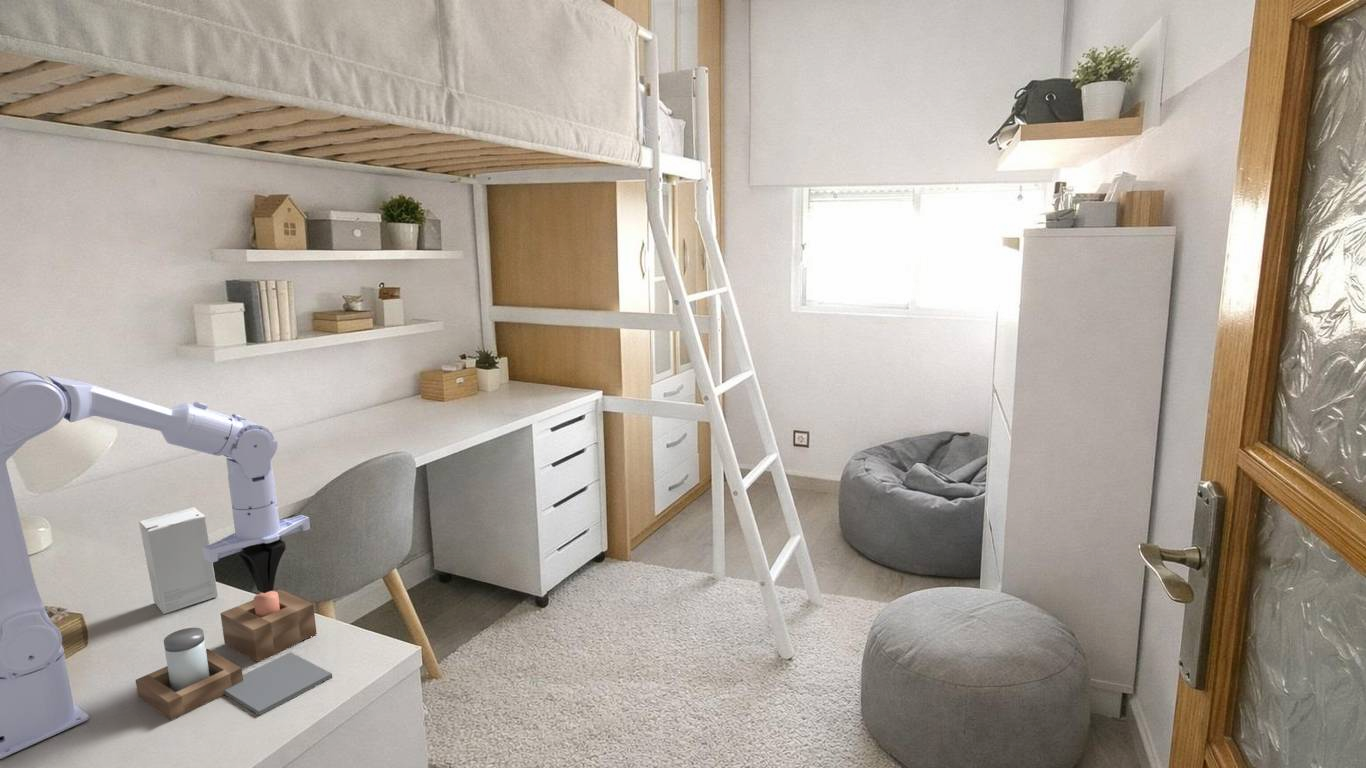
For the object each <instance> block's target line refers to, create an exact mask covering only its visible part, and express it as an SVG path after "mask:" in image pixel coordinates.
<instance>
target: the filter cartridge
mask: <svg viewBox="0 0 1366 768" xmlns="http://www.w3.org/2000/svg"><path fill="white" fill-rule="evenodd" d="M163 646H164V652H165V658H166V666H167V667H168V673H169V680H170V686H171V688H170V689H171V690H173V691H174V692H177V691H180V690H182V689H184V688H186V687H188V686H191V685H193V684H195V683H197V682H199V681H201V680H204V679H206V678H208V677H210V675H209V668H208V661H207V654H206V649H207V648H206V642H205V634H204V629H202V628H200V627H188V628H182V629H178V630H177V631H176V630H175V631H173V632H171V633H170V634H168V635H166V636H165V637H164V639H163Z"/></svg>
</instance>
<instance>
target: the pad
mask: <svg viewBox="0 0 1366 768" xmlns="http://www.w3.org/2000/svg"><path fill="white" fill-rule="evenodd" d="M331 677H332V678H333V673H332V672H330V671H328V670H326V669H324V668H323V667H320V666H318V665H316V664H314V663H312V662H310V661H309V660H307V659H304V658H303V657H301V656H299V655H297V654H295V653H293V652H292V651H291V652H290V651H289V652H288V653H286V654H284V655H282V656H280V657H278V658H275V659H274V660H272V661H269V662H267V663H265V664H263V665H261V666H258V667H256V668H254V669H252V670H250V671H248V672H246V673H244V674H243V681H242V682H240V683H238V684H236V685H234V686H231V687H229V688H227V689H225V690H224V693H225V694H224V695H225V696H227V697H229V698H231V699H232V700H234V701H235V702H237V703H238V704H240V705H242V706H243V707H245V708H246V709H248V710H250V711H252V712H254V714H256V715H258V716H262V715H263V714H265V713H268V712H269V711H272V710H273V709H275V708H276V707H278V706H280V705H283V704H285V703H286V702H288V701H290V700H292V699H294V698H296V697H298V696H300V695H301V694H303V693H305V692H307V691H309V690H311V689H313V688H315V687H317V686H318V685H321V684H323V683H324V682H326V681H328V680H330V679H331ZM329 678H330V679H329ZM327 679H328V680H327ZM323 681H324V682H323ZM322 682H323V683H322ZM320 683H321V684H320Z"/></svg>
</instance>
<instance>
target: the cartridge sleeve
mask: <svg viewBox="0 0 1366 768" xmlns="http://www.w3.org/2000/svg"><path fill="white" fill-rule="evenodd" d="M206 654H207V661H208V668H209V675H210V677H208V678H206V679H204V680H201V681H199V682H197V683H195V684H193V685H191V686H188V687H186V688H184V689H182V690H180V691H177V692H174V691H173V690H171V686H170V680H169V673H168V667H167V665H166V666H165V667H163V668H159V669H158V670H155V671H152V672H150V673H148V674H145V675H143V676H142V677H141V676H140V677H139V678H137V679H135V686H136V691H137V692H136V693H137V697H138V698H139V699H141V700H142V701H143V702H145V703H146V704H148V705H149V706H151V707H152V708H153V709H154V710H156V711H157V712H159V713H160V714H162V715H163V716H165V717H166V718H168V719H169V720H170V721H173V720H174V719H176V718H179V717H180V716H183V715H184V714H186V713H188V712H191V711H193V710H195V709H197V708H199V707H202V706H203V705H205V704H207V703H209V702H212V701H213V700H215V699H218V698H219V697H221V696H224V695H225V693H224V690H225V689H227V688H229V687H231V686H234V685H236V684H238V683H240V682H242V681H243V675H244V674H243V669H242V667H241V666H239V665H237V664H235V663H234V662H231V661H230V660H229V659H227V658H224V657H223V656H222V655H219V654H217V653H216V652H214V651H212V650H211V649H208V648H206Z"/></svg>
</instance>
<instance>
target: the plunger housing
mask: <svg viewBox="0 0 1366 768" xmlns="http://www.w3.org/2000/svg"><path fill="white" fill-rule="evenodd" d="M274 591H275V592H277V593H278V598H279V606H280V610H279V611H276V612H274V613H272V614H269V615H267V616H264V617H262V618H261V617H259V616H257V615H256V614H255V606H254V599H252V600H250V601H248V602H245V603H242V604H239V605H237V606H235V607H232V608H229V609H227V610H225V611H222V612H220V613H219V615H220V619H221V620H220V621H221V627H222V629H221V630H222V634H223V635H222V636H223V641H224V645H225V646H227V647H229V648H231V649H233V650H234V651H236V652H238V653H240V654H242V655H244V656H245V657H247V658H249V659H250V660H253V661H254V662H257V663H258V662H261V661H263V660H265V659H267V658H269V657H271V656H273V655H276V654H278V653H280V652H282V651H284V650H286V649H288V648H291V647H293V646H295V645H297V644H299V643H301V642H300V641H302V640H304V639H306V640H308V639H310V638H312V637H314V636H316V635H315V634H317V625H316V616H315V615H316V614H315V607H314V603H312V602H310V601H308V600H305V599H303V598H300V597H298V596H296V595H294V594H291V593H290V592H287V591H285V590H282V589H278V590H274ZM313 635H314V636H313ZM311 636H312V637H311ZM309 637H310V638H309ZM307 638H308V639H307ZM304 641H305V640H304ZM298 642H299V643H298ZM302 642H303V641H302ZM294 644H295V645H294Z"/></svg>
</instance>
